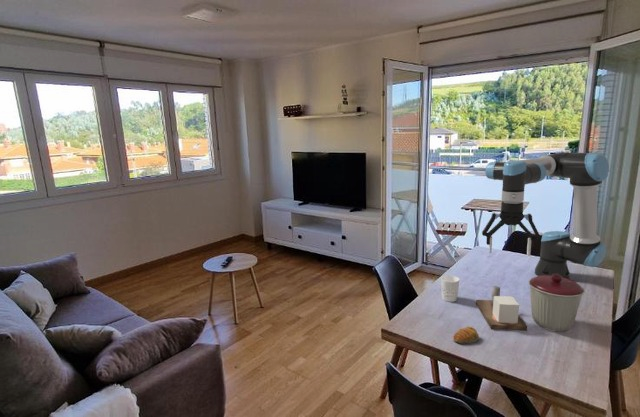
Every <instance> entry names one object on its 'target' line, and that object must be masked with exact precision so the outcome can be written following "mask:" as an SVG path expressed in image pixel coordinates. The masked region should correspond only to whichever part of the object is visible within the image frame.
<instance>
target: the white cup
mask: <svg viewBox="0 0 640 417" xmlns="http://www.w3.org/2000/svg"><path fill="white" fill-rule="evenodd" d="M440 288H441V289H440V291H441V299H442V300H443V301H444V302H448V301H450V303H451V302H452V303H454V302H457V300H458V295H459V294H458V293H459V288H460V278H459V277H458V276H456V275H451V274H446V275H445V274H444V275H442V276H441V277H440Z"/></svg>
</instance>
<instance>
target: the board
mask: <svg viewBox="0 0 640 417" xmlns="http://www.w3.org/2000/svg"><path fill="white" fill-rule="evenodd" d="M500 294H501V287H500V286H495V285H494V286H492V288H491V299H476V301H475V305H476V306H477V309H479V312H480V313H481V315H482V317H483V318H484V320H485V322H486V323H487V324H488V326H489V329H490V330H492V331H493V330H494V331H495V330H496V331H517V332H518V331H520V332H521V331H523V332H526V331H527V332H528V325H527V324H526V322H525V321H524V320H523V319H522V318H521V316H520V315H519V314H518V323H501V322H498V321H497V320H496V318H495V316H494V315H493V300H494V296H501V295H500Z"/></svg>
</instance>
